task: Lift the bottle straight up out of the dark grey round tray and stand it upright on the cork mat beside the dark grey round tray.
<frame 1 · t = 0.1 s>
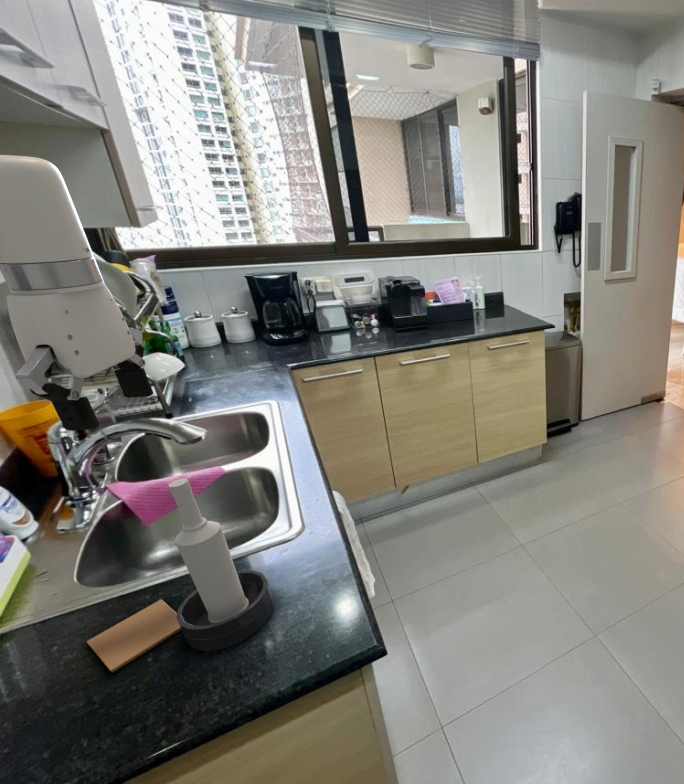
hand: (113, 411, 60), 35 cm above the worktop, tool pointing down, fingers open, 9 cm apart
cork mat: (139, 634, 70), on the worktop
dark grey round tray: (232, 618, 73), on the worktop
bottle: (232, 618, 73), touching dark grey round tray
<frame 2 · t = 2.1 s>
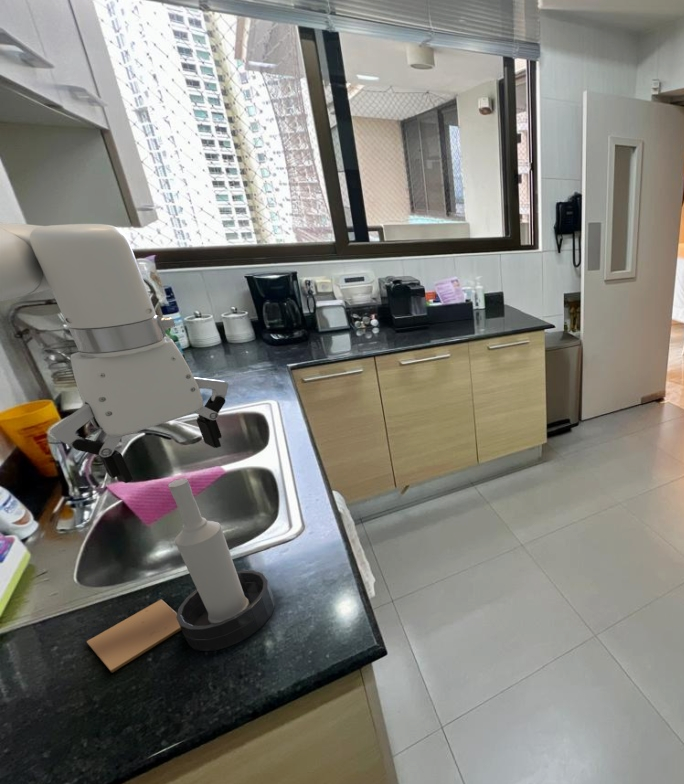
hand: (171, 460, 61), 29 cm above the worktop, tool pointing down, fingers open, 9 cm apart
nothing on the worktop moved.
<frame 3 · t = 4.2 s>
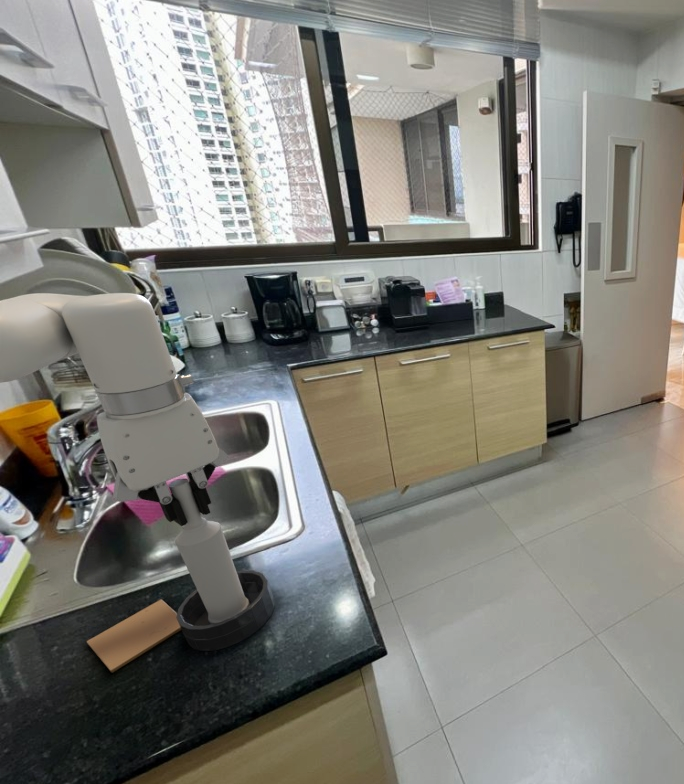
hand: (191, 515, 65), 20 cm above the worktop, tool pointing down, fingers closed on bottle, 2 cm apart
bottle: (232, 618, 73), touching gripper, dark grey round tray
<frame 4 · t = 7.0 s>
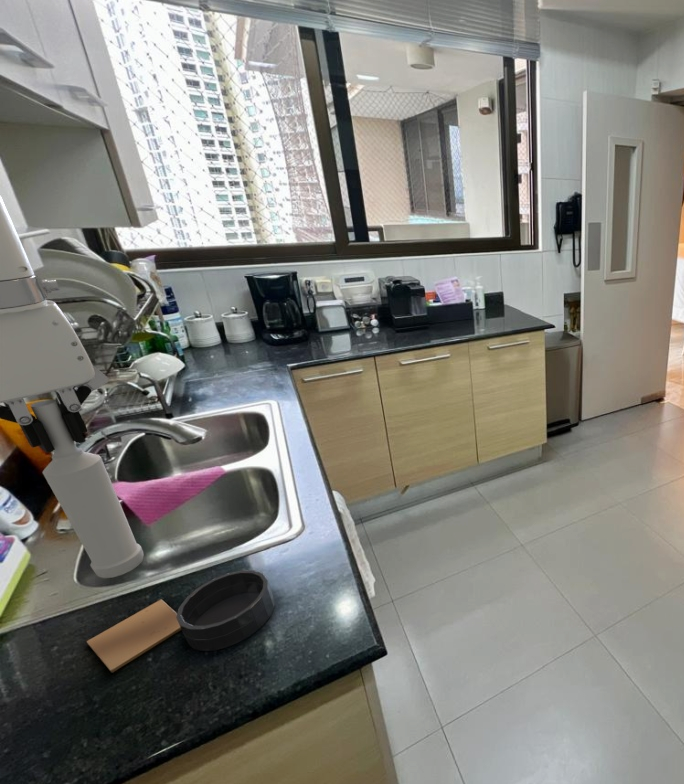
hand: (62, 443, 58), 33 cm above the worktop, tool pointing down, fingers closed on bottle
bottle: (121, 566, 65), point 13 cm above the worktop, touching gripper
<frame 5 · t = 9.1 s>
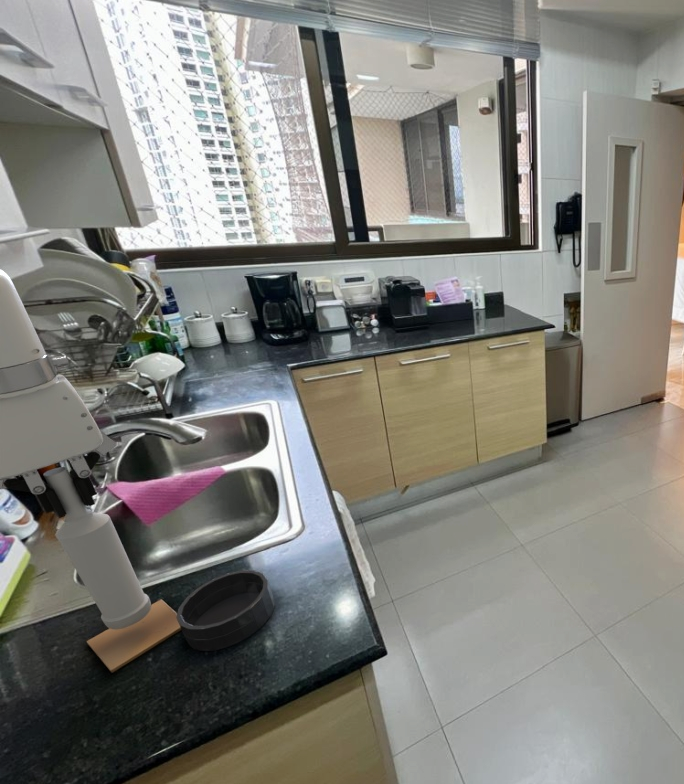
hand: (73, 507, 61), 23 cm above the worktop, tool pointing down, fingers closed on bottle
bottle: (130, 616, 68), point 4 cm above the worktop, touching gripper
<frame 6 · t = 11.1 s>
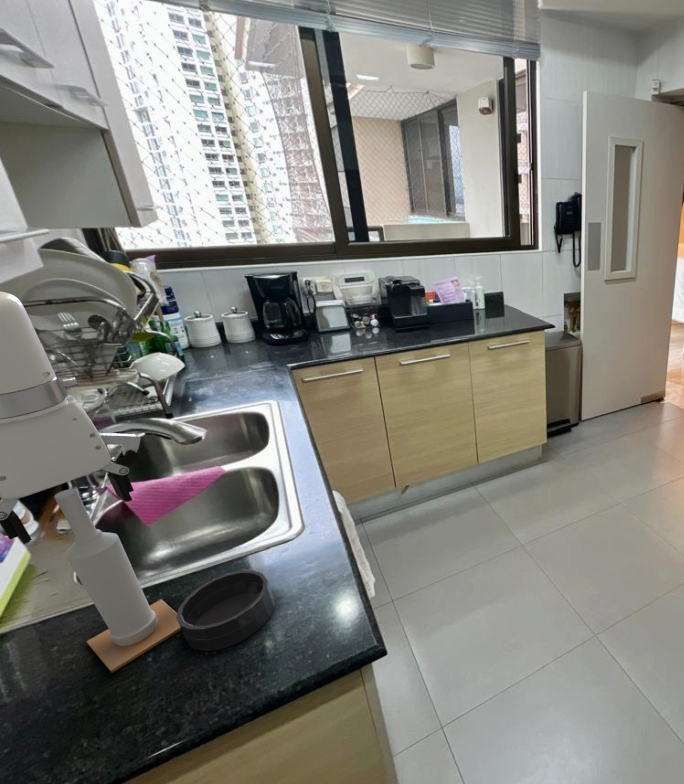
hand: (78, 517, 61), 22 cm above the worktop, tool pointing down, fingers open, 9 cm apart
bottle: (137, 633, 70), on the worktop, touching cork mat
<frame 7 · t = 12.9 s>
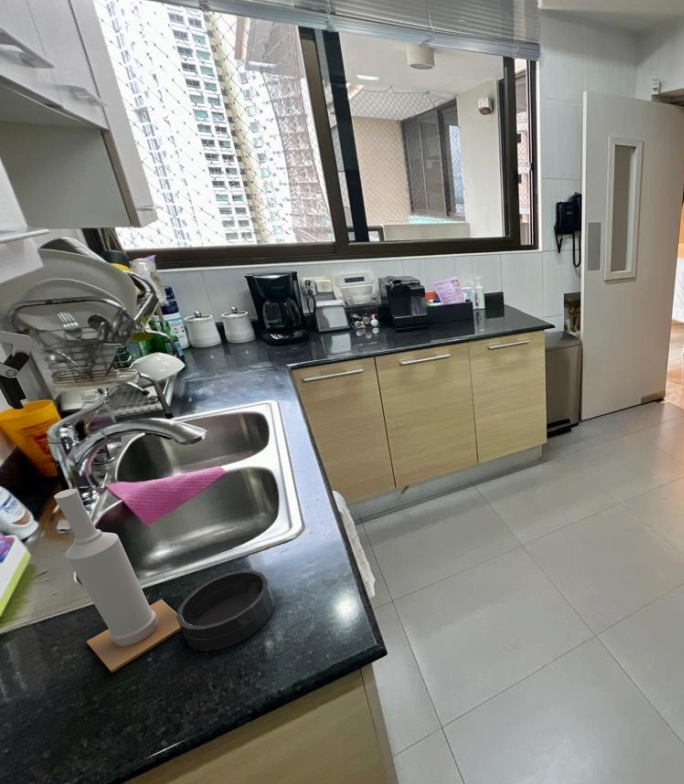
nothing on the worktop moved.
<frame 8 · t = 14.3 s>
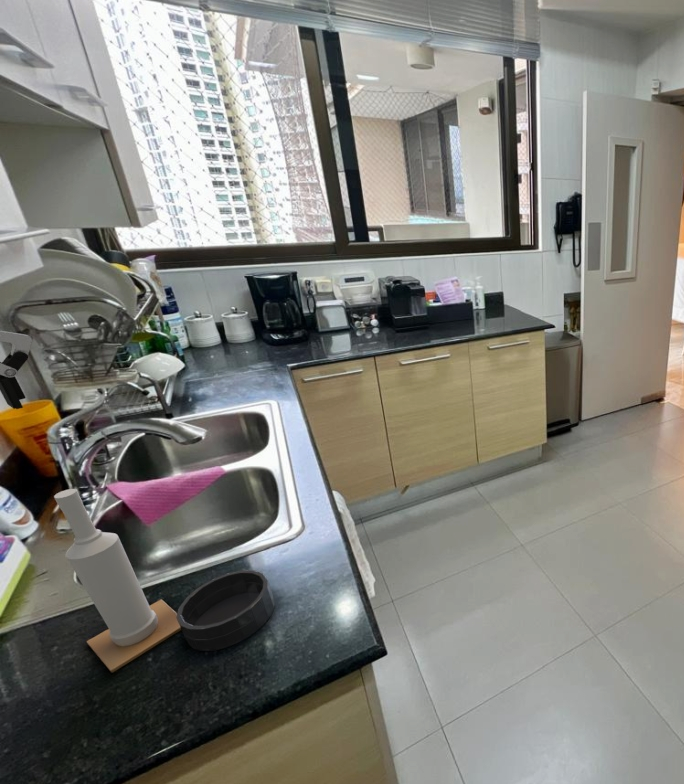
nothing on the worktop moved.
at the end: bottle inside the target area on the cork mat (0.1 cm from its centre), point 0.3 cm above the cork mat's base; bottle tilted 0°; bottle touching cork mat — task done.
